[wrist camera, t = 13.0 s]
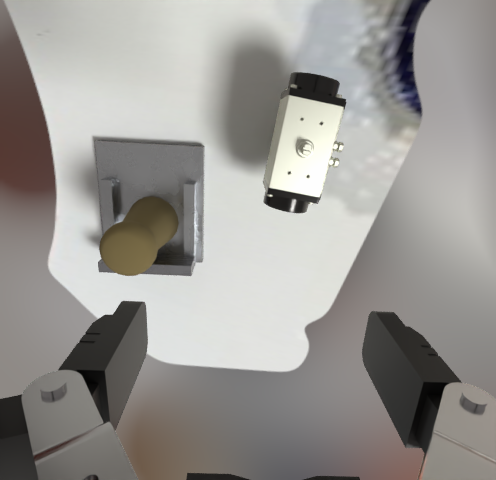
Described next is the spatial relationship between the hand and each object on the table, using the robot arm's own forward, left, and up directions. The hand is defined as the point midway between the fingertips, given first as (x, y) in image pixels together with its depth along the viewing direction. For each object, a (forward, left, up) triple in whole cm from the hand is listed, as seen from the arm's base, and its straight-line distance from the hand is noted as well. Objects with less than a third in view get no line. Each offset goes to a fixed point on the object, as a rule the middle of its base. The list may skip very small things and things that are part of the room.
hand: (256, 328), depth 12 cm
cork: (+5, -11, -29) cm, 32 cm away
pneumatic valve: (-5, +5, -30) cm, 31 cm away
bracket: (+3, -11, -30) cm, 32 cm away
